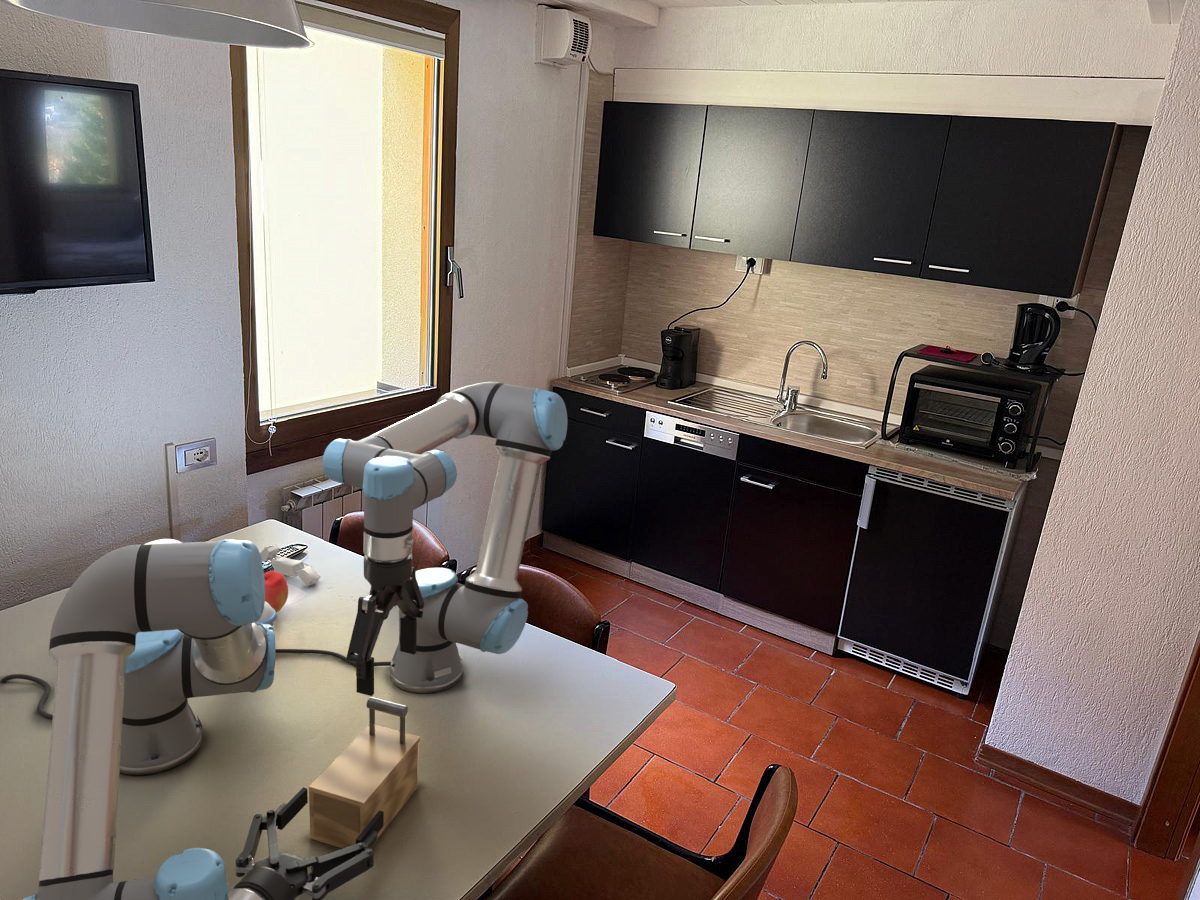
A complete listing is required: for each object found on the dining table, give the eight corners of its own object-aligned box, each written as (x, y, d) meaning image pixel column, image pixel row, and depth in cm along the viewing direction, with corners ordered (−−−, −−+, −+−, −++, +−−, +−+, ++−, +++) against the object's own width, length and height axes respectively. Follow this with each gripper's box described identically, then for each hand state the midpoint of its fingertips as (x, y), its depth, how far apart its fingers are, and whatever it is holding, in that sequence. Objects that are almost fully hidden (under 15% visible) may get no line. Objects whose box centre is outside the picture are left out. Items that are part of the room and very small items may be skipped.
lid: (370, 727, 149) (370, 687, 147) (420, 740, 147) (421, 700, 144) (308, 791, 133) (307, 747, 130) (364, 807, 130) (363, 763, 128)
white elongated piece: (253, 565, 223) (254, 542, 221) (265, 560, 226) (266, 537, 224) (309, 593, 215) (310, 569, 213) (320, 588, 218) (321, 564, 216)
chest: (367, 773, 151) (367, 729, 148) (417, 787, 149) (418, 743, 146) (310, 838, 136) (308, 791, 133) (364, 855, 133) (364, 807, 130)
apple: (273, 600, 207) (272, 562, 204) (297, 613, 202) (296, 575, 199) (237, 614, 200) (234, 575, 197) (261, 628, 194) (259, 588, 191)
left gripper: (177, 903, 118) (275, 804, 138) (333, 960, 112) (414, 848, 131) (173, 859, 116) (274, 765, 136) (332, 914, 110) (414, 807, 129)
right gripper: (366, 591, 123) (366, 718, 129) (445, 530, 146) (443, 641, 152) (320, 581, 125) (323, 706, 131) (406, 523, 147) (405, 632, 154)
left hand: (343, 806), depth 134 cm, fingers open, 13 cm apart
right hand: (387, 671), depth 141 cm, fingers open, 13 cm apart
